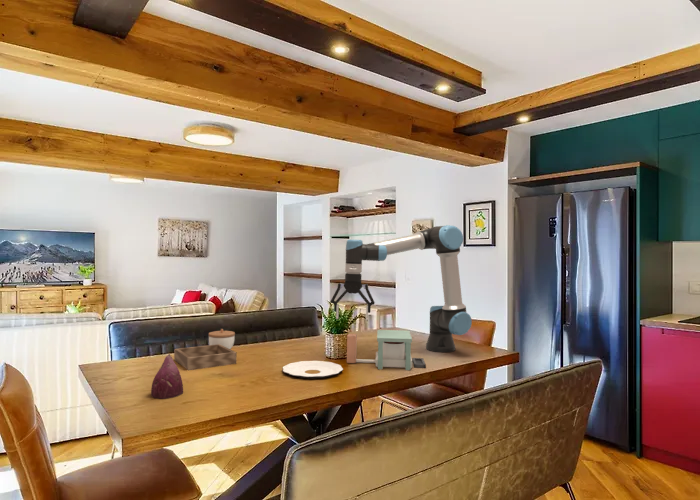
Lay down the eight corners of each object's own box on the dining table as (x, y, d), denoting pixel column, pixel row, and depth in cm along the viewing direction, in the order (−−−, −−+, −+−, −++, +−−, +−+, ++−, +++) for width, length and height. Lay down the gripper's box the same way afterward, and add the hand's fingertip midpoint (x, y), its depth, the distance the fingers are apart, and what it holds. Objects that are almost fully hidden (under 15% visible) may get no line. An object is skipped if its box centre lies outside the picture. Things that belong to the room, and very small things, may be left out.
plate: (350, 368, 199) (350, 363, 199) (329, 383, 175) (329, 378, 175) (298, 362, 207) (298, 358, 207) (271, 376, 183) (271, 372, 183)
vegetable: (157, 399, 163) (156, 356, 166) (187, 395, 163) (185, 352, 167) (146, 401, 152) (145, 355, 156) (177, 397, 153) (176, 351, 157)
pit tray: (414, 367, 201) (414, 364, 201) (412, 361, 213) (412, 357, 213) (425, 368, 200) (425, 364, 200) (423, 361, 212) (423, 358, 212)
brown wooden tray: (219, 354, 219) (219, 344, 219) (236, 363, 202) (236, 352, 202) (174, 360, 207) (174, 349, 207) (188, 370, 190) (188, 358, 190)
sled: (346, 365, 201) (346, 338, 201) (348, 357, 217) (348, 331, 217) (412, 367, 199) (412, 340, 199) (409, 359, 215) (410, 333, 215)
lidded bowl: (239, 350, 228) (240, 328, 228) (220, 355, 218) (220, 332, 218) (222, 347, 235) (222, 326, 235) (202, 351, 225) (203, 329, 225)
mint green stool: (376, 369, 197) (377, 337, 197) (376, 357, 218) (377, 329, 218) (411, 370, 196) (412, 339, 196) (408, 358, 217) (409, 330, 217)
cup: (403, 367, 201) (403, 344, 201) (380, 365, 203) (381, 343, 203) (405, 362, 211) (405, 340, 211) (383, 360, 213) (384, 339, 213)
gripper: (325, 272, 207) (323, 319, 207) (380, 274, 205) (379, 321, 205) (327, 271, 214) (326, 317, 214) (380, 273, 212) (379, 319, 212)
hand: (352, 319), depth 209 cm, fingers open, 13 cm apart
